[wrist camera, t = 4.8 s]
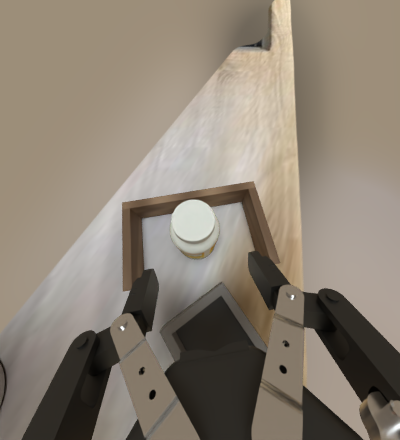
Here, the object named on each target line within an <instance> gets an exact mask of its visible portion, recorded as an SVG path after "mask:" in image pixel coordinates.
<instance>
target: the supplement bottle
mask: <svg viewBox="0 0 400 440" xmlns="http://www.w3.org/2000/svg"><path fill="white" fill-rule="evenodd" d="M219 231H220V227H219V222H218V219H217V217H216V216H215V214H214V212H213V210H212V209H211V207H210V206H209V205H208V204H206V203H205V202H203V201H200V200H187V201H185V202H183V203H181V204H180V205H178V206H177V207H176V209H175V210H174V212H173V214H172V218H171V224H170V236H171V239H172V241H173V243H174V244H175V245H176V247H177V248H178V249H179V250H180V251H181V252H182V253H183V254H184V255H185V256H187V257H189V258H191V259H202V258H205V257H206V256H208V255H209V254H210V253H211V252H212V250H213V248H214V246H215V244H216V242H217V240H218V236H219Z"/></svg>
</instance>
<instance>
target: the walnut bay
mask: <svg viewBox="0 0 400 440" xmlns="http://www.w3.org/2000/svg"><path fill="white" fill-rule="evenodd" d="M187 200H200V201H203V202H205V203H206V204H208V205H209V206H210V207H213V206H219V205H225V204H231V203H237V202H242V205H243V208H244V212H245V215H246V219H247V222H248V226H249V229H250V233H251V237H252V240H253V244H254V247H255V251H259V253H260V254H261V255H262V256H267V257H268V258H270V259H271V260H272V261H273V262H274V264H279V263H280V261H279V258H278V255H277V251H276V248H275V245H274V242H273V239H272V236H271V233H270V230H269V227H268V224H267V221H266V218H265V215H264V212H263V209H262V206H261V203H260V200H259V196H258V193H257V190H256V187H255V184H254V181H253V182H246V183H240V184H234V185H228V186H222V187H216V188H210V189H203V190H197V191H191V192H185V193H179V194H173V195H166V196H160V197H154V198H148V199H142V200H136V201H130V202H123V203H122V240H123V291H129V290H131V288H132V285H133V283H134V282H135V280H136V279H137V278H140V277H141V276H142V273H143V271H144V260H143V239H142V219H141V218H147V217H153V216H159V215H165V214H171V213H173V212H174V210H175V209H176V207H177V206H178V205H180V204H181V203H183V202H185V201H187Z"/></svg>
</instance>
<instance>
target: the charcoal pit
mask: <svg viewBox="0 0 400 440" xmlns="http://www.w3.org/2000/svg"><path fill="white" fill-rule="evenodd" d="M160 333H161V335H162V337H163V339H164V341H165V343H166V345H167V347H168V349H169V351H170V353H171V355H172V357H173V359H174V361H177V360H178V359H180V352H185V351H191V350H196V349H197V350H205V351H217V350H219V349H220V348H222V347H224V346H226V345H228V344H230V343H233V342H239V341H244V340H247V343H248V346H253V347H256V348H259V349H261V350H263V351H264V352H266V353H267V346H266V345H265V343H264V342H263V341H262V339H261V338H260V336H259V335H258V333H257V332H256V330H255V329H254V327H253V326H252V325H251V323H250V322H249V320H248V319H247V317H246V316H245V314H244V313H243V311H242V310H241V309H240V307H239V306H238V304H237V303H236V301H235V300H234V298H233V297H232V295H231V294H230V293H229V291H228V290H227V288H226V287H225V285H224V284H223V283H222V282H221V283H219V284H218V285H217V286H215V287H214V288H213V289H211V290H210V291H209V292H207V293H206V294H205V295H203V296H202V297H201V298H200V299H198V300H197V301H196V302H194V303H193V304H192V305H190V306H189V307H188V308H186V309H185V310H184V311H182V312H181V313H180V314H179V315H177V316H176V317H175V318H173V319H172V320H171V321H169V322H168V323H167V324H165V325H164V326H163V327H162V329H161V330H160Z"/></svg>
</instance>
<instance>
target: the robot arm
mask: <svg viewBox="0 0 400 440" xmlns="http://www.w3.org/2000/svg"><path fill="white" fill-rule="evenodd" d="M248 268H249V272H250V274H251V276H252V278H253V280H254V282H255V284H256V286H257V288H258V290H259V291H260V293H261V295H262V297H263V299H264V301H265V303H266V305H267V307H268V309H269V310H273V309H274V310H275V315H274V318H273V323H272V328H271V333H270V338H269V343H268V348H267V353H266V352H264V351H263V350H261V349H259V348H256V347H253V346H248V343H247V340H244V341H239V342H233V343H230V344H228V345H226V346H224V347H222V348H220V349H219V350H217V351H205V350H197V349H196V350H191V351H185V352H180V359H178V360H177V361H175V362H174V363H173V364H172V365H171V366H170V367H169V368H168V369H167V370H166V371H165V373H164V372H163V370H162V368H161V366H160V365H159V363H158V361H157V359H156V357H155V355H154V354H153V352H152V350H151V348H150V346H149V344H148V343H147V341H146V339H145V335H146V332H149V331H152V325H153V320H154V314H155V308H156V302H157V297H158V291H159V283H158V280H157V277H156V274H155V271H154V269H148V270H144V271H143V273H142V276H141V277H140V278H137V279H136V280H135V282H134V283H133V285H132V288H131V291H130V293H129V296H128V299H127V301H126V304H125V307H124V309H123V312H122V315H121V316H119V317H118V318H117V319H116V320H115V321H114V322H113V323H112V325H111V327H109V328H107V329H105V330H103V331H101V332H99V333H97V334H96V333H95V332H94V331H92V330H89V331H86V332H84V333H82V334H80V335H79V336H78V337H77V338H76V339H75V340H74V341H73V342H72V344H71V345H70V347H69V349H68V351H67V353H66V355H65V357H64V359H63V361H62V363H61V364H60V366H59V368H58V370H57V372H56V374H55V376H54V378H53V380H52V382H51V384H50V386H49V388H48V390H47V391H46V393H45V395H44V397H43V399H42V401H41V403H40V405H39V407H38V409H37V411H36V413H35V415H34V416H33V418H32V420H31V422H30V424H29V426H28V428H27V430H26V432H25V434H24V436H23V438H22V440H91V439H92V436H93V432H94V428H95V425H96V421H97V418H98V414H99V411H100V407H101V403H102V400H103V396H104V393H105V389H106V386H107V382H108V378H109V375H110V371H111V368H112V366H113V365H115V364H116V363H118V362H119V364H120V368H121V370H122V373H123V376H124V379H125V382H126V385H127V388H128V391H129V394H130V397H131V399H132V402H133V405H134V408H135V411H136V414H137V417H138V419H137V421H136V423H135V424H134V426H133V428H132V430H131V431H130V433H129V435H128V437H127V438H126V440H363V439H362V438H361V437H360V436H359V435H358V434H357V433H356V432H355V431H353V429H351V428H350V427H349V426H348V425H347V424H346V423H345V422H343V420H341V419H340V418H339V417H338V416H337V415H336V414H335V413H333V412H332V411H331V410H330V409H329V408H328V407H327V406H326V405H325V404H323V403H322V402H321V401H320V400H319V399H318V398H317V397H316V396H315V395H313V394H312V393H311V392H310V391H309V390H308V389H307V388H306V387H305V386H303V361H304V327H307V328H313V329H315V331H316V333H317V334H318V335H319V337H320V339H321V340H322V342H323V343H324V345H325V346H326V348H327V349H328V351H329V353H330V354H331V356H332V357H333V359H334V360H335V362H336V363H337V365H338V366H339V368H340V369H341V371H342V373H343V374H344V376H345V377H346V379H347V380H348V382H349V383H350V385H351V386H352V388H353V390H354V391H355V392H356V394H357V396H358V397H359V398H360V400H361V402H362V404H361V405H360V409H359V411H360V416H361V419H362V422H363V424H364V426H365V428H366V429H367V432H368V435H369V438H370V440H400V353H399V352H398V351H397V350H396V349H395V348H394V347H393V346H392V345H391V344H390V343H389V342H388V341H387V340H386V339H385V338H384V337H383V336H382V335H381V334H380V333H379V332H378V331H377V330H376V329H375V328H374V327H373V326H372V325H371V324H370V323H369V322H368V321H367V319H365V317H364V316H362V314H360V312H359V311H358V310H357V309H356V308H355V307H354V306H353V305H352V304H351V303H350V302H349V301H348V300H347V299H346V298H345V297H344V296H343V295H342V294H340V293H338V292H337V291H335V290H332V289H325V288H324V289H321V290H319V292H318V294H315V293H306V292H302V291H301V290H300V289H299V288H297V287H295V286H293V285H291V284H290V283H289V282H288V281H287V279H286V278H285V277H284V275H283V274H282V273H281V271H280V270H279V269H278V268H277V266H276V265H275V264H274V262H273V261H272V260H271V259H270V258H268V257H267V256H262V255H261V254H260V253H259V251H253V252H249V253H248ZM4 386H5V379H4V372H3V369H2V366H1V364H0V405H1V402H2V398H3V394H4Z"/></svg>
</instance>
